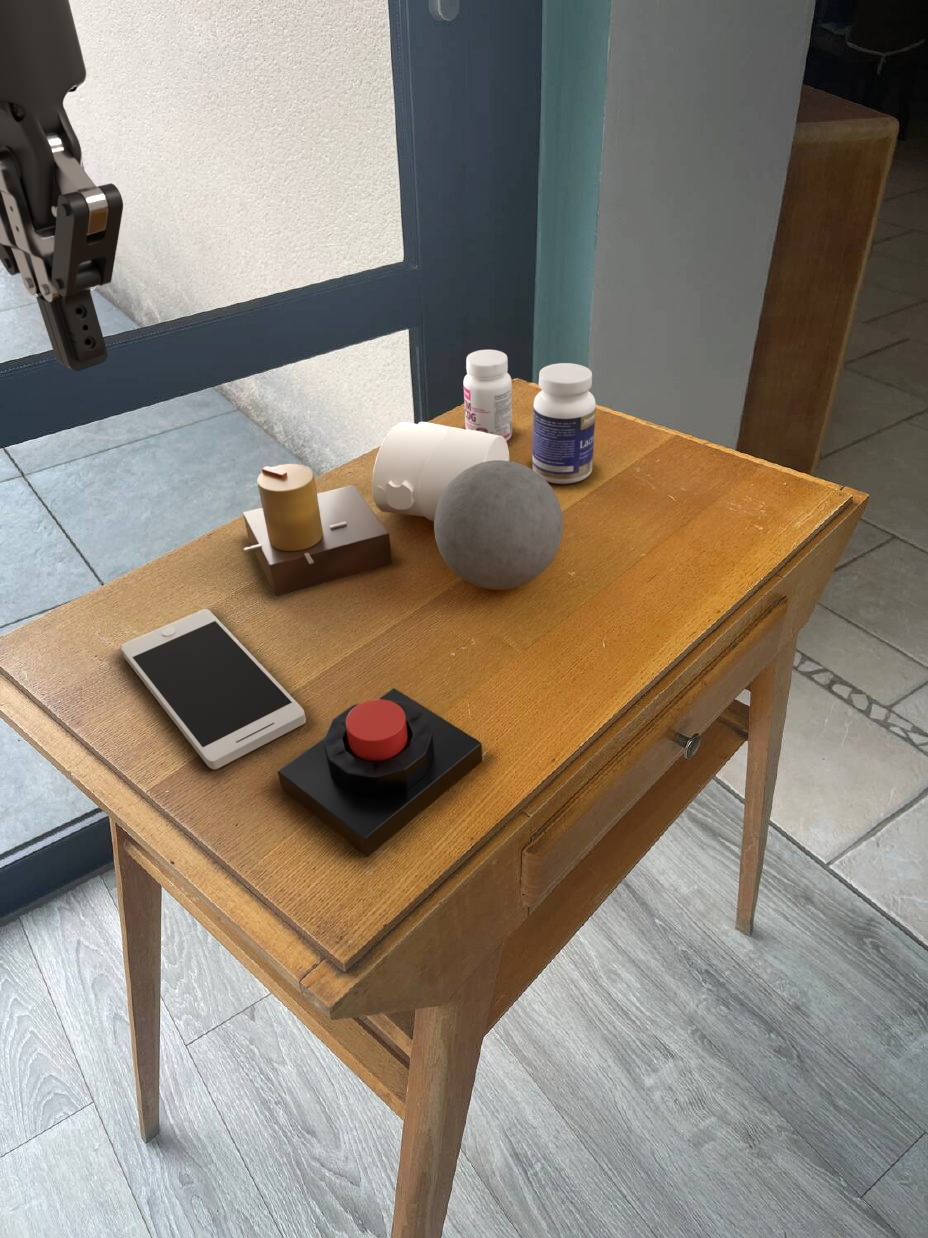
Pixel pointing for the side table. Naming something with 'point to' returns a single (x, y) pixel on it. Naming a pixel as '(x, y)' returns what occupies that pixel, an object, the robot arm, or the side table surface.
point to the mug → (427, 464)
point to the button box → (380, 776)
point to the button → (376, 730)
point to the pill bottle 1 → (488, 393)
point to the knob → (290, 506)
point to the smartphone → (212, 688)
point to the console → (324, 544)
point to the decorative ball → (498, 525)
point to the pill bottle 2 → (563, 424)
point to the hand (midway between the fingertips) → (84, 363)
